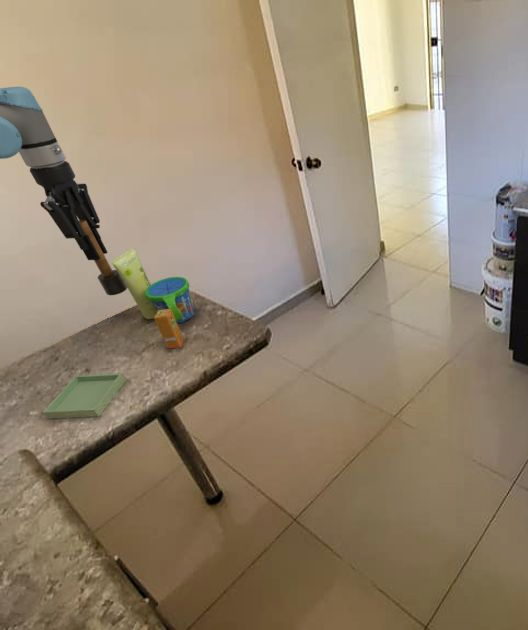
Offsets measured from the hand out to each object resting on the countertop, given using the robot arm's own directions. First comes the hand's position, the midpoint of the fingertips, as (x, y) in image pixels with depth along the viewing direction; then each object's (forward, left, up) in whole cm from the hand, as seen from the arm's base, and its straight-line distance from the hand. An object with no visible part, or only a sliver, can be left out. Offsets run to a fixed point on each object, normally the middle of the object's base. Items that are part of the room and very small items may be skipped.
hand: (98, 256), depth 112 cm
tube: (+6, 0, -20) cm, 21 cm away
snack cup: (+15, -2, -20) cm, 25 cm away
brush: (0, 0, -11) cm, 11 cm away
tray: (+7, -32, -19) cm, 38 cm away
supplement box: (+19, -14, -20) cm, 31 cm away
